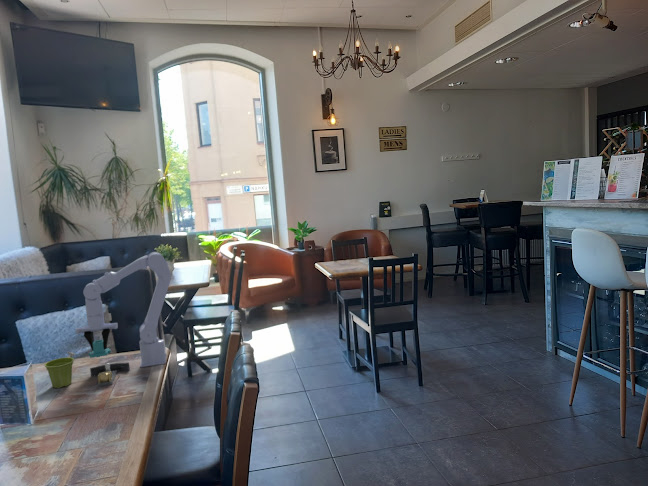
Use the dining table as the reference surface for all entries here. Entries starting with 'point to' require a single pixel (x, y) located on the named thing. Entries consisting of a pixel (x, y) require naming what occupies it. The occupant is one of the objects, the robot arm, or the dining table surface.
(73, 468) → the dining table surface
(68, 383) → the plant pot
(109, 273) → the robot arm
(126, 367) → the carrier
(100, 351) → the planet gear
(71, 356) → the soldier figure
